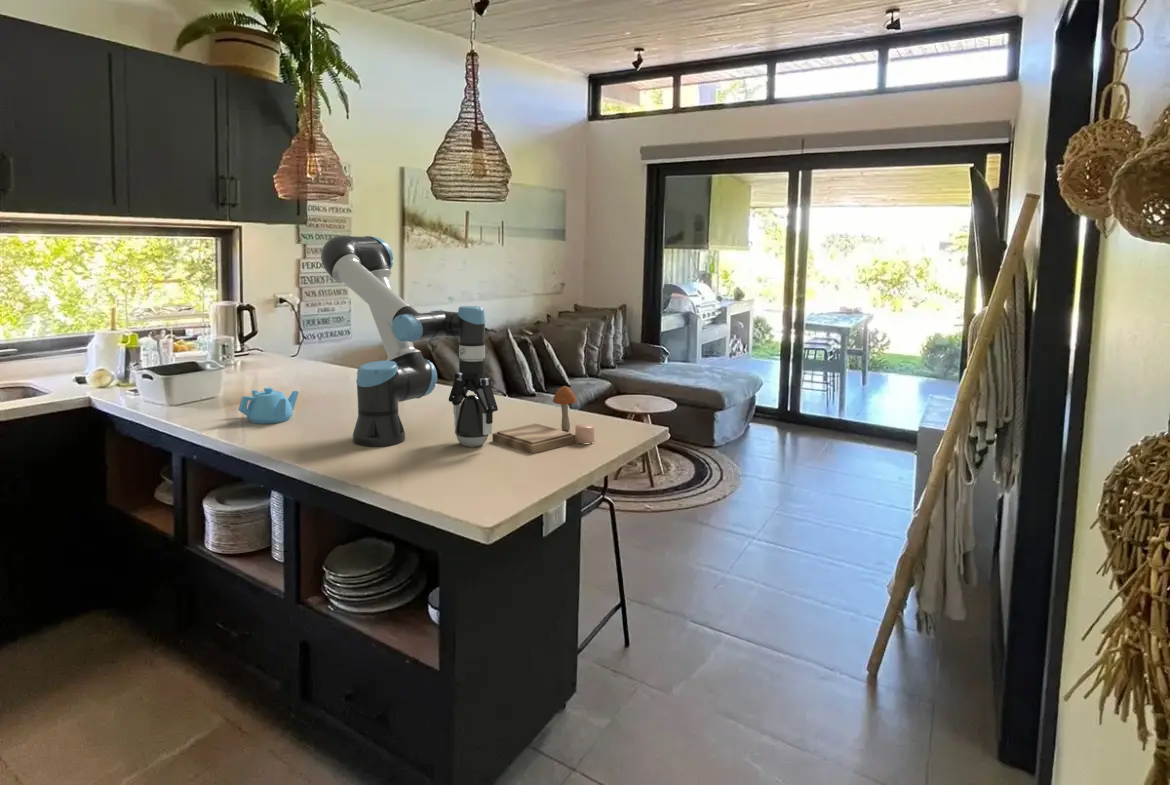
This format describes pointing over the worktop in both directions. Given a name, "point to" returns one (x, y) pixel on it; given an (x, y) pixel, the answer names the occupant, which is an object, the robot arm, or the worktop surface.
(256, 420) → the teapot
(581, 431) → the pink rounded glossy part
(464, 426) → the pump dispenser
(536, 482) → the worktop surface
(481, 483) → the worktop surface
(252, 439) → the worktop surface
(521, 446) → the walnut tray
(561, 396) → the mushroom
